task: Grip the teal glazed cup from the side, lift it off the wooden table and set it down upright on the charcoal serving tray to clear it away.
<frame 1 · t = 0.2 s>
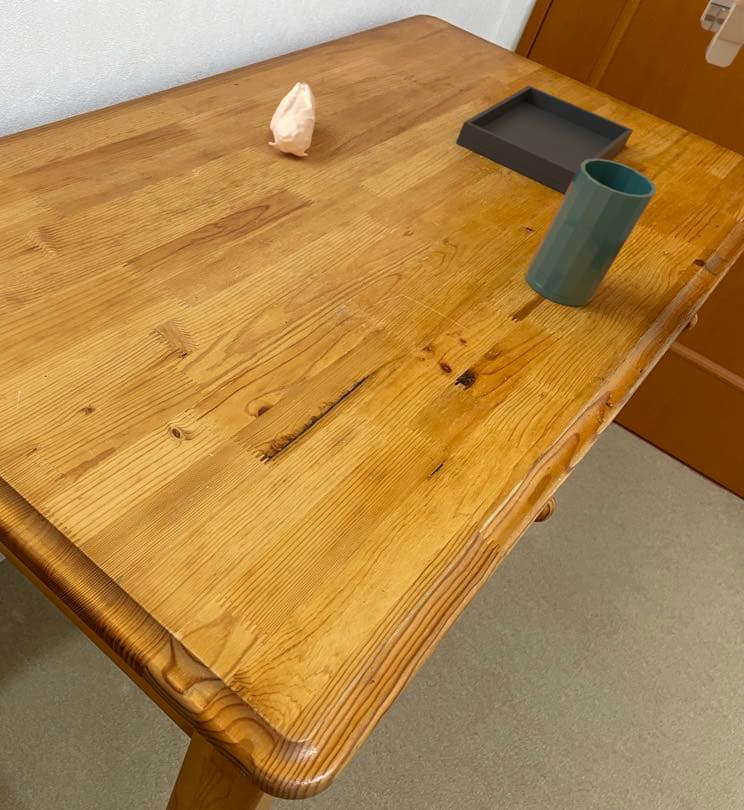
hand: (711, 44, 66), 25 cm above the table, tool pointing down, fingers open, 8 cm apart
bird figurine: (291, 143, 98), on the table
tray: (542, 146, 110), on the table
cup: (558, 285, 85), on the table
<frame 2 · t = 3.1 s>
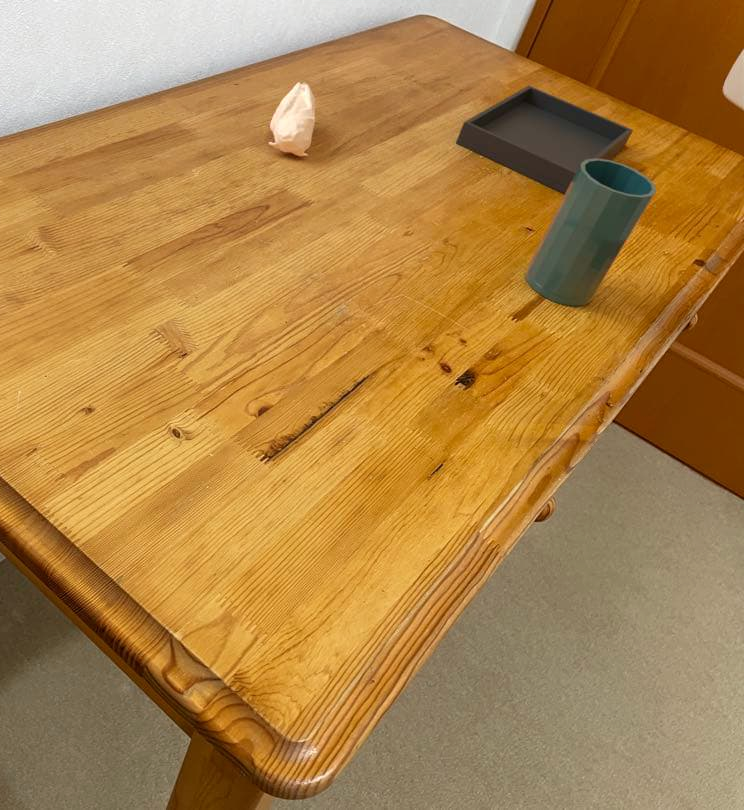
nothing on the table moved.
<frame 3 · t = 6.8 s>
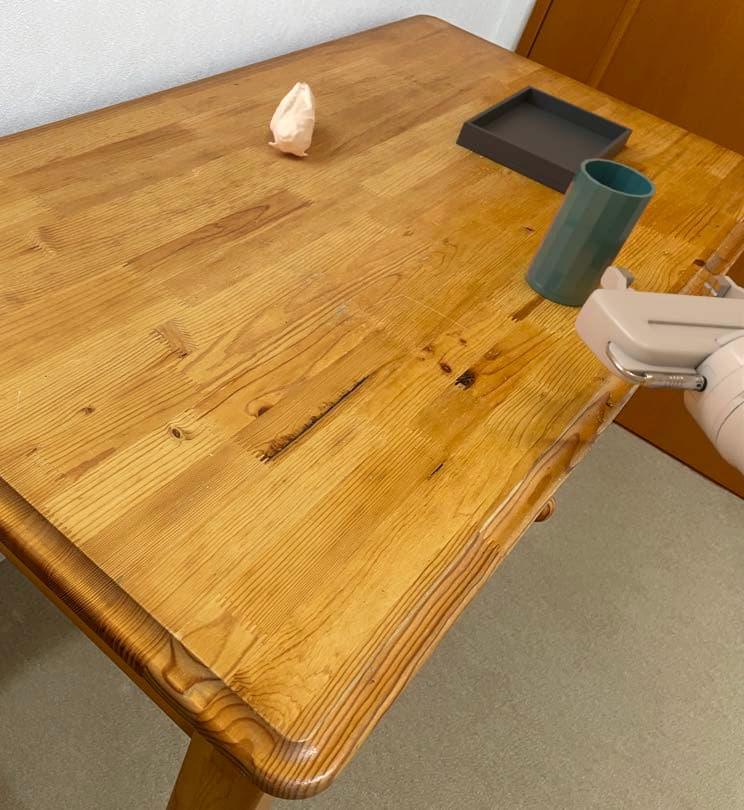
hand: (662, 277, 70), 9 cm above the table, tool horizontal, fingers open, 8 cm apart
nothing on the table moved.
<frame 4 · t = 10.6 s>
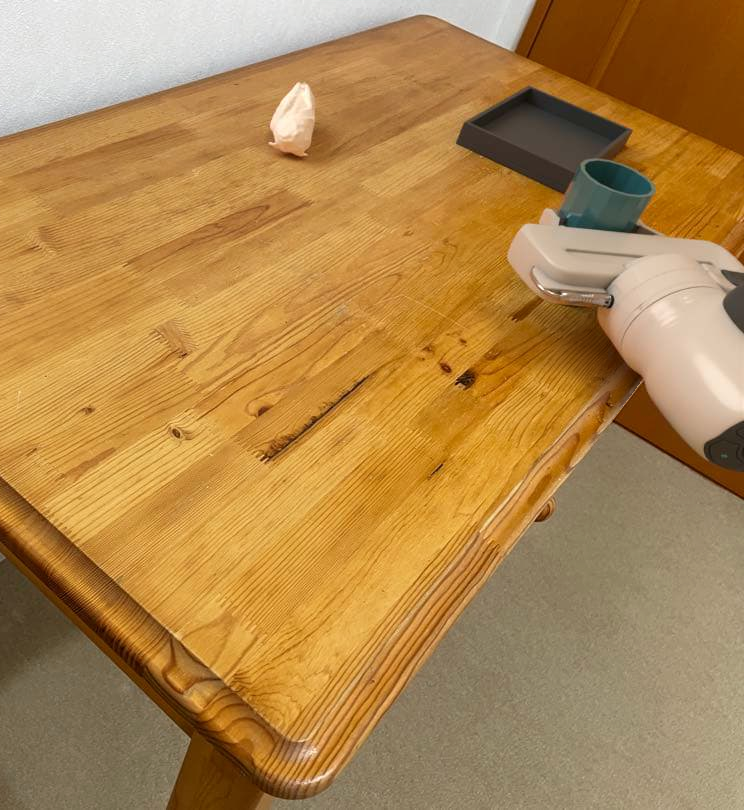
hand: (588, 219, 80), 7 cm above the table, tool horizontal, fingers closed on cup, 7 cm apart
cup: (558, 285, 85), on the table, touching gripper
everything else where it was.
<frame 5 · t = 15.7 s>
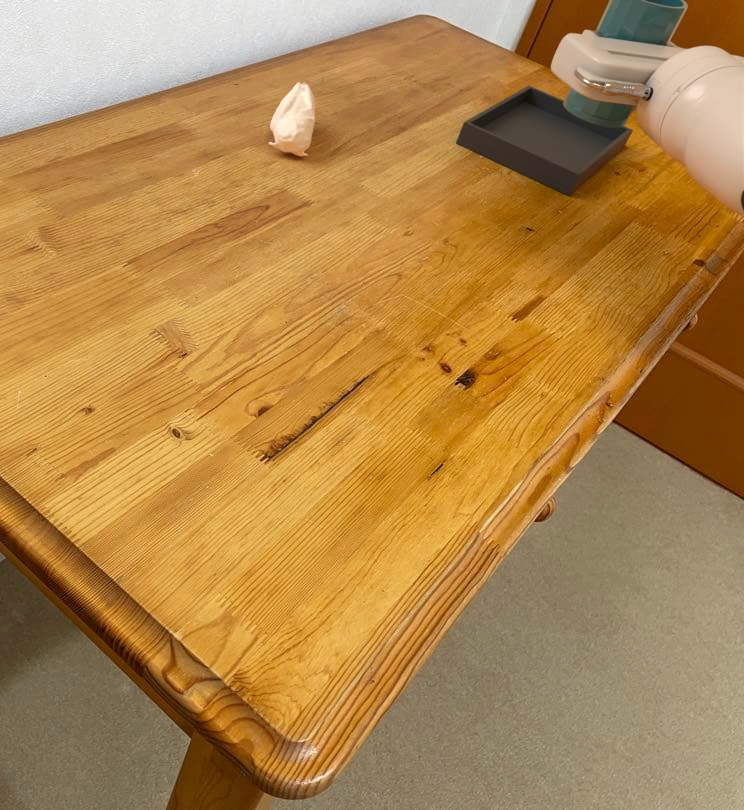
hand: (623, 43, 87), 18 cm above the table, tool horizontal, fingers closed on cup, 7 cm apart
cup: (594, 113, 91), point 11 cm above the table, touching gripper
everything else where it was.
when the fingers open (8 cm above the table, at t = 21.1 s): cup stays where it is, resting on tray.
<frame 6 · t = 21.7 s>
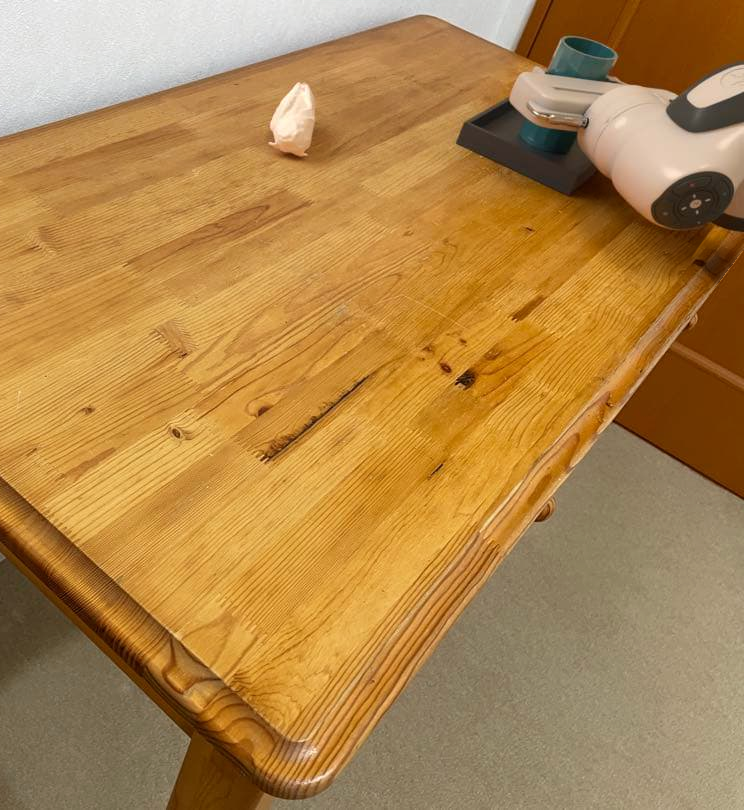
hand: (571, 77, 104), 9 cm above the table, tool horizontal, fingers open, 8 cm apart
cup: (545, 141, 109), point 1 cm above the table, touching tray
everything else where it was.
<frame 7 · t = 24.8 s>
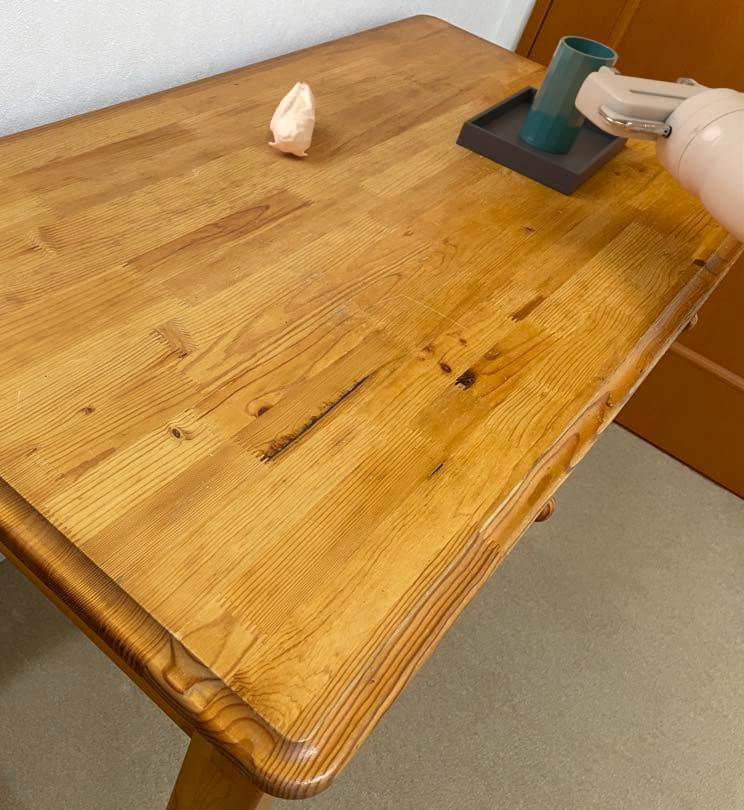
hand: (642, 79, 92), 14 cm above the table, tool horizontal, fingers open, 8 cm apart
nothing on the table moved.
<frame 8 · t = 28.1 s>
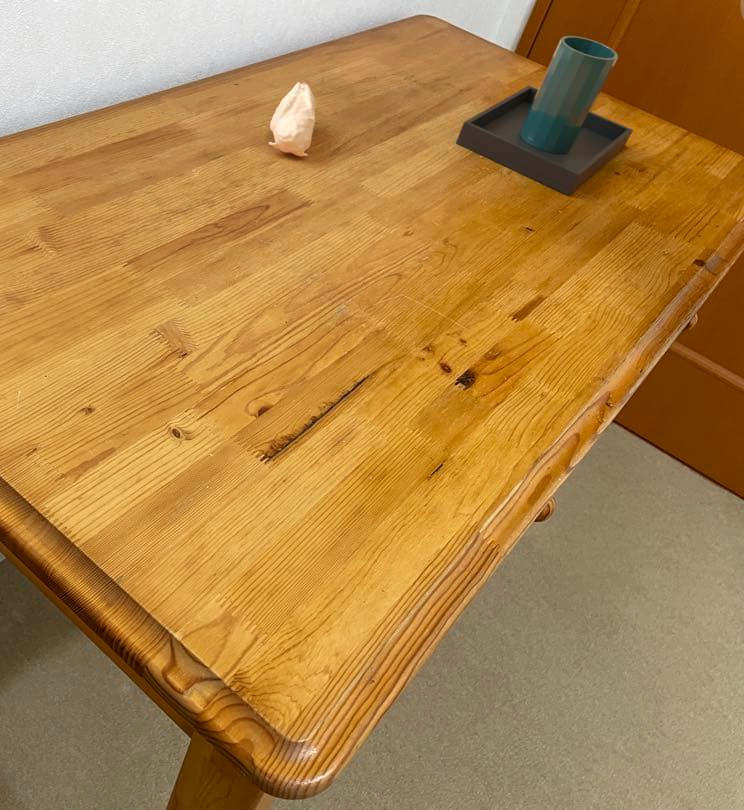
nothing on the table moved.
at the end: cup inside the target area in the tray (0.1 cm from its centre), point 0.8 cm above the tray's base; cup tilted 0°; the gripper is holding nothing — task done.
